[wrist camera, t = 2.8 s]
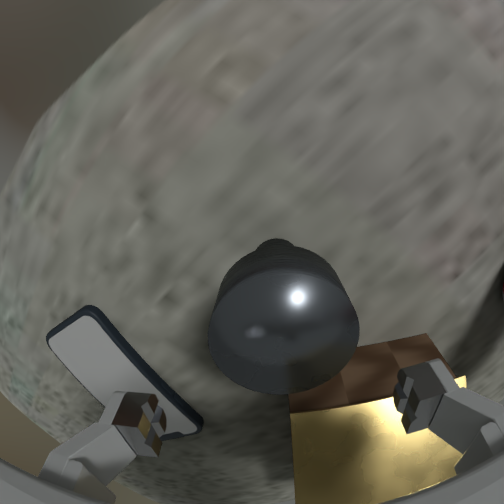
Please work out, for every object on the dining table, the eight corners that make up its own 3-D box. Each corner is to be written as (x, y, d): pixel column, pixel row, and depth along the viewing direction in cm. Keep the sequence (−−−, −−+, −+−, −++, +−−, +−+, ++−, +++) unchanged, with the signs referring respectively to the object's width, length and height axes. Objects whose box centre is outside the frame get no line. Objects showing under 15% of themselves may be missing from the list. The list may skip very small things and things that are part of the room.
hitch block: (426, 333, 21) (457, 380, 15) (390, 446, 27) (401, 484, 22) (285, 356, 22) (290, 416, 16) (293, 463, 28) (295, 504, 23)
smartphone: (48, 330, 23) (149, 434, 28) (40, 339, 22) (145, 444, 26) (98, 295, 22) (210, 419, 26) (88, 305, 20) (208, 432, 24)
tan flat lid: (459, 376, 15) (465, 375, 15) (460, 475, 12) (466, 477, 11) (290, 412, 16) (290, 414, 15) (296, 518, 13) (296, 523, 12)
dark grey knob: (320, 210, 18) (362, 265, 10) (323, 296, 20) (353, 385, 12) (222, 220, 18) (192, 283, 10) (237, 305, 20) (222, 397, 12)
